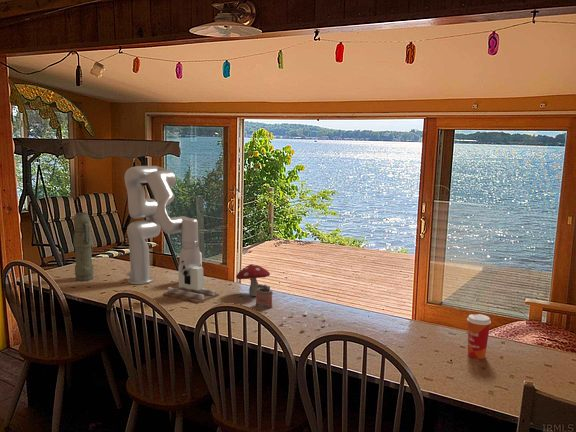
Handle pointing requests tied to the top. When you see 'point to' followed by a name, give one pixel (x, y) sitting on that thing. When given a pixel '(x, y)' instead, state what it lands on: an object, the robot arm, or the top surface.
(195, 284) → the door panel
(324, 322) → the game piece set
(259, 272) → the decorative mushroom
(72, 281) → the top surface
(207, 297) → the track board
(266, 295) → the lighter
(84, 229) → the moai statue
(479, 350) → the paper cup
